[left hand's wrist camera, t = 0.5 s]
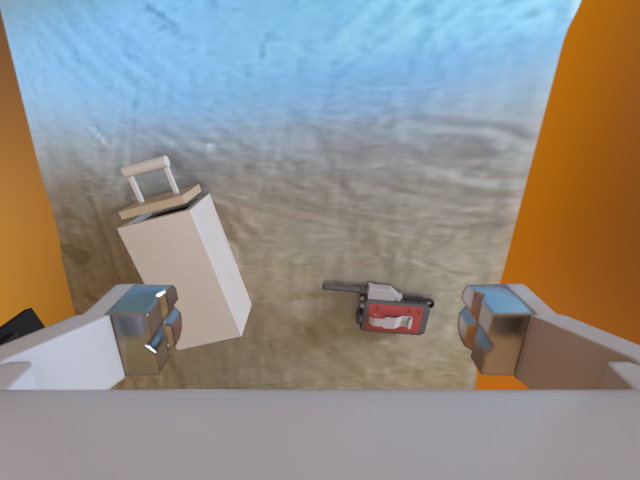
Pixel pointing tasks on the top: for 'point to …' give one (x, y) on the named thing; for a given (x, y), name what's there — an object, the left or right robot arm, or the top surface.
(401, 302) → the walkie-talkie
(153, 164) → the drawer
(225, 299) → the cabinet
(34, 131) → the top surface
